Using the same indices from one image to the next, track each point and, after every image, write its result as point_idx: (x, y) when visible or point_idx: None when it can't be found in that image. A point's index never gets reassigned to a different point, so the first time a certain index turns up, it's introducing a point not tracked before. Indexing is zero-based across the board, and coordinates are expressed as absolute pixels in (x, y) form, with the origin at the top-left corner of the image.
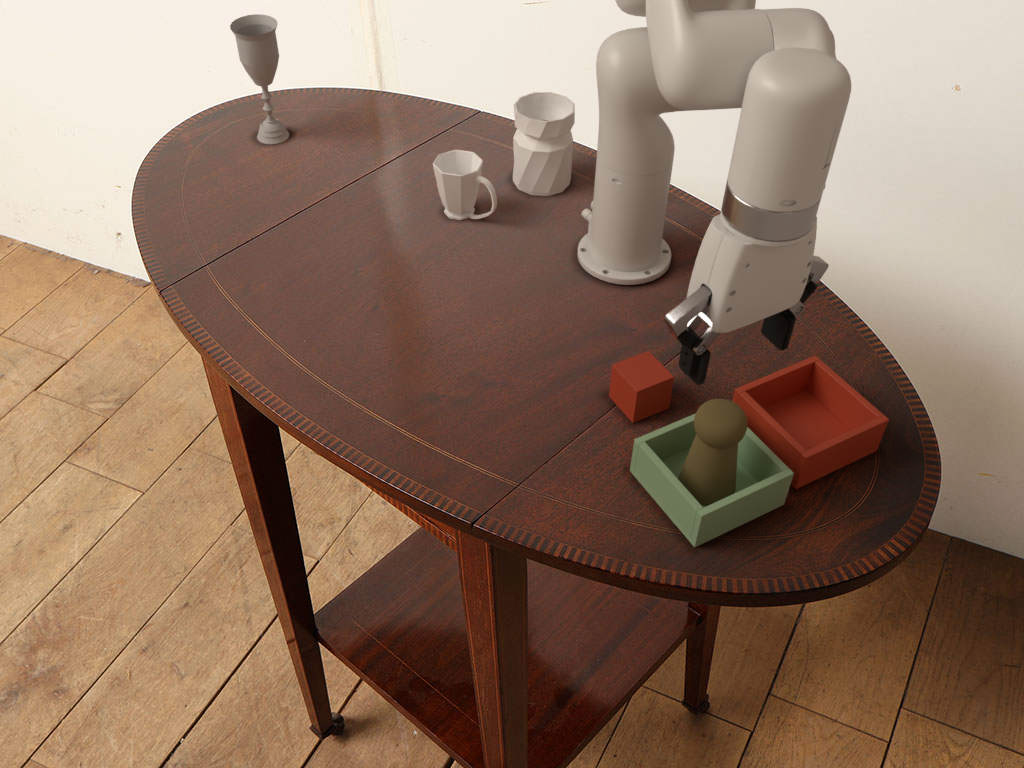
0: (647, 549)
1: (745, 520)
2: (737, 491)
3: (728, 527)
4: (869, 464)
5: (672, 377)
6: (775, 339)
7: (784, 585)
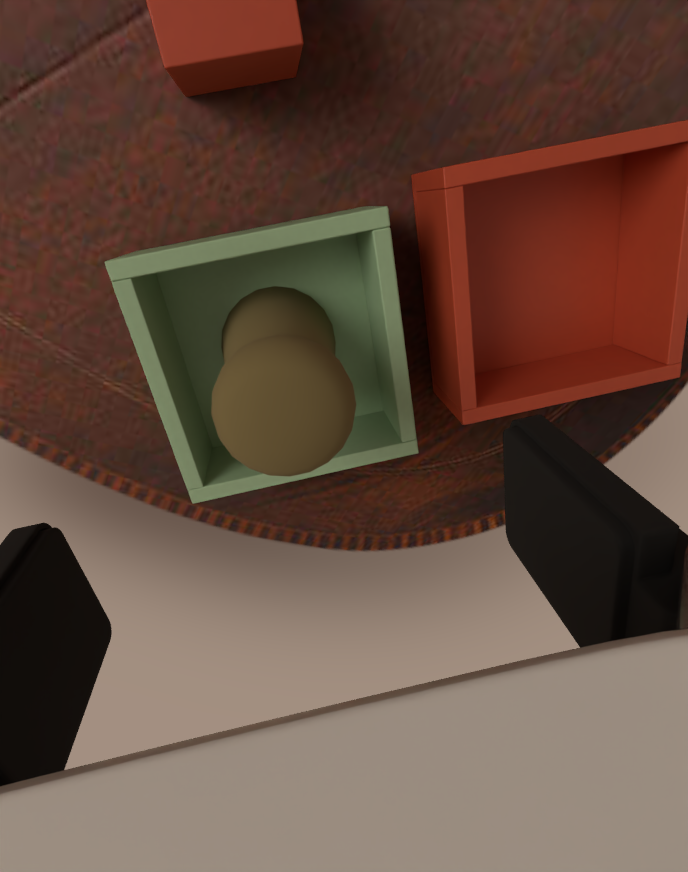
0: (118, 442)
1: None
2: None
3: None
4: None
5: (296, 45)
6: (519, 524)
7: (313, 544)
